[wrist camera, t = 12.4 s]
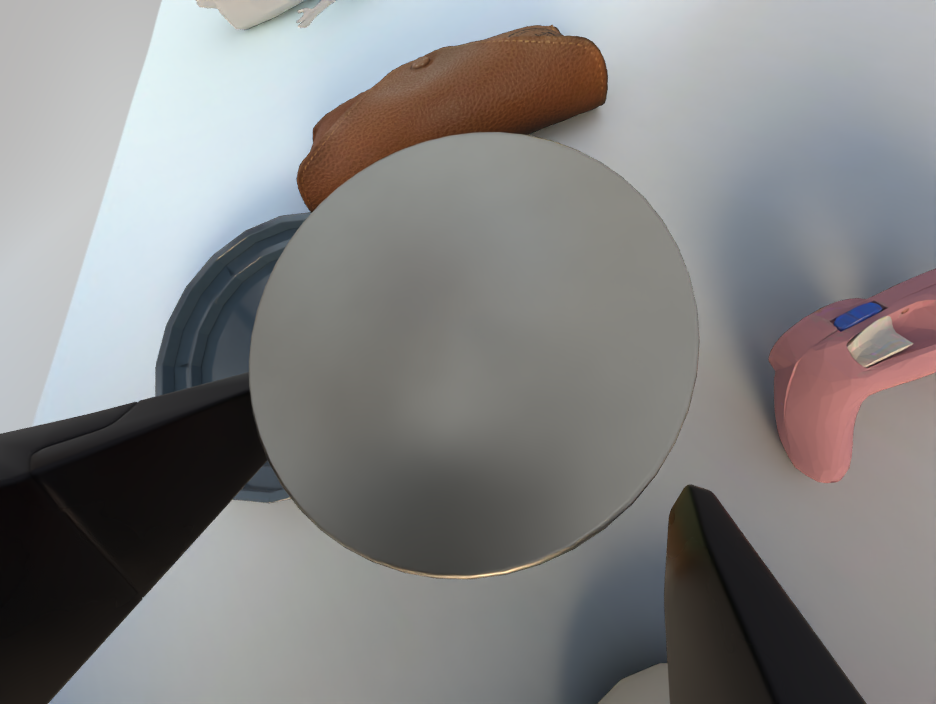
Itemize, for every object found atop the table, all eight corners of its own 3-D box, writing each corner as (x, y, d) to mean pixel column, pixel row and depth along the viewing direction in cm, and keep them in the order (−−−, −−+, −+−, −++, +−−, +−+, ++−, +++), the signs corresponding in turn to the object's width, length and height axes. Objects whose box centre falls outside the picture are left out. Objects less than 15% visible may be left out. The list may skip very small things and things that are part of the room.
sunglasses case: (555, 13, 23) (582, -82, 16) (586, 131, 24) (621, 87, 18) (305, 130, 25) (241, 88, 19) (347, 229, 27) (302, 222, 20)
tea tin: (537, 510, 16) (483, 725, 4) (434, 422, 18) (176, 373, 6) (619, 396, 16) (816, 249, 4) (509, 323, 18) (417, 78, 6)
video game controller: (955, 328, 16) (1098, 173, 11) (1100, 413, 13) (1392, 248, 8) (726, 403, 17) (760, 295, 12) (804, 498, 14) (894, 402, 9)
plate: (295, 565, 18) (266, 578, 16) (146, 380, 24) (111, 374, 22) (486, 317, 19) (479, 303, 17) (303, 192, 25) (282, 171, 23)
